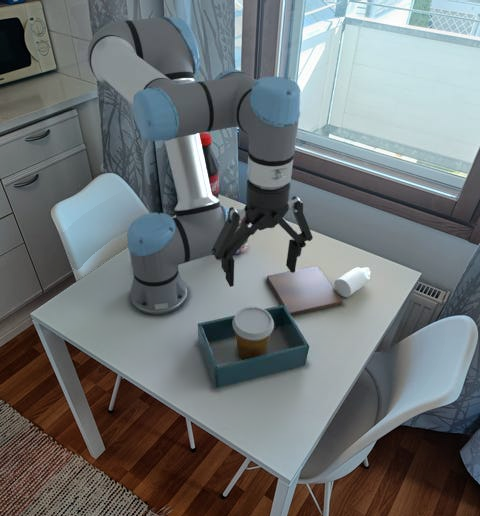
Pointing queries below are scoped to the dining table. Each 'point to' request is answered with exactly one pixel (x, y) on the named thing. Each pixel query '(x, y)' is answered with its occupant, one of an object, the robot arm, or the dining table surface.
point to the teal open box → (254, 365)
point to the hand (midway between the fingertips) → (260, 275)
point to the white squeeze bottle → (352, 281)
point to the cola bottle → (210, 163)
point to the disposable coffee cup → (252, 331)
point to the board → (304, 290)
